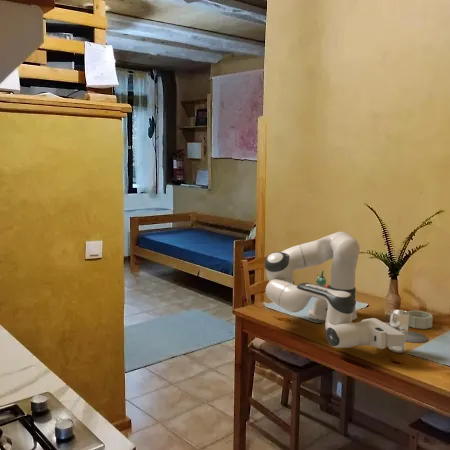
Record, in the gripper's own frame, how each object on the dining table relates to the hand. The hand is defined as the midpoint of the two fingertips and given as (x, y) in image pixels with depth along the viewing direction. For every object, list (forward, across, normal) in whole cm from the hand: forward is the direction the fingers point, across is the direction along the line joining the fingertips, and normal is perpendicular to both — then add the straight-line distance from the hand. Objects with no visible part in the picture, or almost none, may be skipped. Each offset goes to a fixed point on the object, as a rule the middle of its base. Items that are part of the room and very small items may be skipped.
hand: (400, 328), depth 192 cm
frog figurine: (+8, -77, -9) cm, 78 cm away
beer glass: (-1, 0, -8) cm, 8 cm away
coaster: (+14, -10, -9) cm, 19 cm away
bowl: (+26, -22, -9) cm, 35 cm away
